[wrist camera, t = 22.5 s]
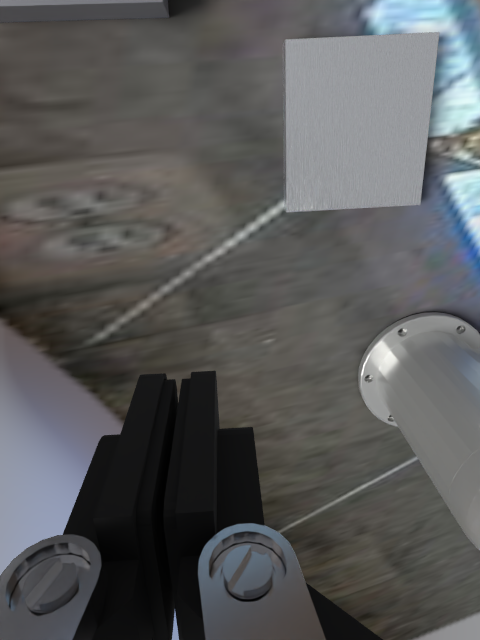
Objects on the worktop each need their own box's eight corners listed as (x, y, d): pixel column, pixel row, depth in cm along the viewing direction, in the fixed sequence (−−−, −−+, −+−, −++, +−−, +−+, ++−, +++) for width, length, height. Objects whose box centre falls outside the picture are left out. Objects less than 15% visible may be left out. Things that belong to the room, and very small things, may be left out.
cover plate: (281, 44, 33) (427, 37, 33) (283, 208, 37) (410, 201, 38) (285, 39, 31) (439, 32, 31) (286, 212, 36) (420, 204, 36)
